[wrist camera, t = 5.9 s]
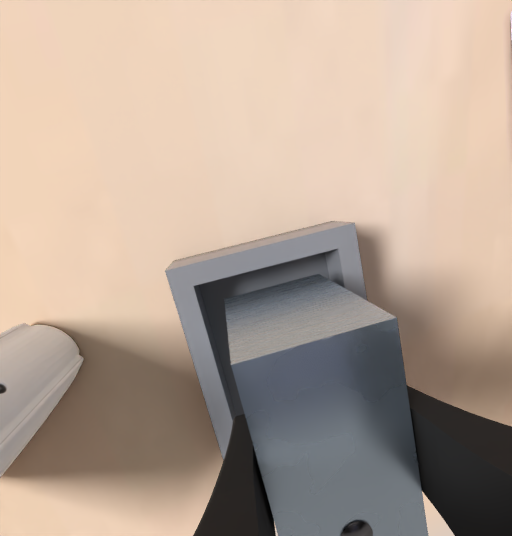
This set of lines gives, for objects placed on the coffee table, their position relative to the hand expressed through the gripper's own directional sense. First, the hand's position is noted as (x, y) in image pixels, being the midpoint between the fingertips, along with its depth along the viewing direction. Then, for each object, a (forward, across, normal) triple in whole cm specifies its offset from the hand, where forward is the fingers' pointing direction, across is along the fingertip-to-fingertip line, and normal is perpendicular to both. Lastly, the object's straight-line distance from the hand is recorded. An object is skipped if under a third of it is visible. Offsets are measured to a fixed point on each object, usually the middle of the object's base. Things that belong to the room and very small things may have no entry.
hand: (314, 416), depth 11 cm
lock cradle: (+6, 0, 0) cm, 6 cm away
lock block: (+3, 0, 0) cm, 3 cm away
